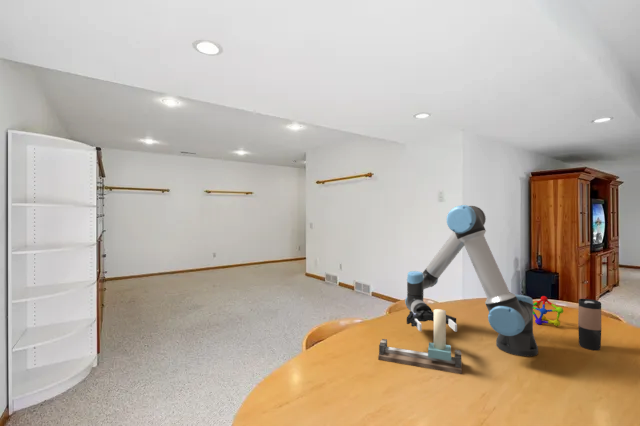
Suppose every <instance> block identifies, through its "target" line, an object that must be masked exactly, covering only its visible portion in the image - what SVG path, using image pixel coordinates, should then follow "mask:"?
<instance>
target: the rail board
mask: <svg viewBox="0 0 640 426" xmlns="http://www.w3.org/2000/svg"><path fill="white" fill-rule="evenodd" d="M461 351H462V350H459V349H454V356H451V361H448V360H442V359H435V358H429V357H428V352H426V351H425V352H424V351H418V350H413V349H406V348H399V347H393V346H388V339H385V338H381V340H380V343H379V345H378V357H377V358H378V360H380V361H385V362H389V363H390V362H391V363H396V364H402V365H408V366H413V367H414V366H415V367H418V368H419V367H420V368H425V369H431V370H437V371H442V372H449V373H454V374H460V375H462V371H463V370H462V355H463V353H462V352H461Z"/></svg>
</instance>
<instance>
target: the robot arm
mask: <svg viewBox="0 0 640 426" xmlns="http://www.w3.org/2000/svg"><path fill="white" fill-rule="evenodd" d="M486 219H487V218H486V214H485V211H483V209H481V208H480V207H478V206H475V205H466V204H461V205H457V206H455V207H452V208H451V209H450V211H449V212H448V213H447V216H446V225H447V227H448V229H449V230H450V231H452V233H451V234H450V236H449V237H448V238H447V240H446V241H445V242H444V244H443V245H442V246H441V248H439V250H438V252H437V253H436V255H434V257H433V258H432V260H431V261H429V262H430V263H429V264H428V265H427V266H426V268H425V269H424V270H423V271H422V272H421V271H417V270H414V271H413V270H412V271H409V272H407V279H406V281H407V282H406V284H407V287H406V288H407V291H406V293H407V294H406V297H405V300H404V303H405V306H406V308H407V309H408V310H409V312H408V314H407V316H406V324H407V325H410V324H411V325H410V326H411V327H415V328H416V329H417V330H418V332H423V331H422V327H423V326H422V323H421V322H428V321H431V322H434V311H433V310H432V308H431V307H430V306H429V305H428V304H427V303H426V302H425V301H424V290H426V289H429V288H432V287H434V286H436V285H437V284H438V281H439V278H440V277H441V275H442V274H443V273H444V272H445V271H446V269H447V268H448V267H449V265H450V264H451V263H452V262H453V260H454V259H455V258H456V257H457V255H458V254H459V253H460V251H462V250H463V248H465V250H466V252H467V254H468V257H469V258H470V262H471V264H472V267H473V268H474V270H475V273H476V275H477V278H478V280H479V283H480V285H481V287H482V289H483V291H484V294H485V296H486V300H485V302H484V303H485V306H486V309H487V311H488V315H487V320H488V323H489V325H490V327H491V328H492V329H493V330H494V331H495V332H496V333H498V334H497V338H496V341H495V342H496V343H495V344H496V345H495V346H496V347H497V348H498V349H499V350H501V351H503V352H505V353H508V354H510V355H515V356H521V357H534V356H537V355H538V354H539V347H538V344H537V341H536V338H535V336H534V315H533V311H534V309H533V307H535V306H534V300H533V298H532V297H530V296H528V295H524V294H517V293H513V292H511V291H510V290H509V288H508V285H507V283H506V282H505V278H504V277H503V274H502V273H501V270H500V268H499V265H498V264H497V261H496V259H495V257H494V255H493V253H492V251H491V248H490V246H489V243H488V242H487V239H486V237H485V234H486V232H487V230H486V228H485V223H486ZM446 325H448V326H449V328H450V329H452V330H453V331H454V332H455V333H456V332H458V324H457V317H454V316H451V315H448V314H446Z"/></svg>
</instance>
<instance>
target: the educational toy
mask: <svg viewBox="0 0 640 426" xmlns="http://www.w3.org/2000/svg"><path fill="white" fill-rule="evenodd" d="M541 303H542V305H541ZM546 303H547V304H548V305H550V306H551V307H553V308H554V309H547V308H546ZM533 304H534V306H533V317H534V318H535V320H534V322H535V324H537V325H538V324H539V325H540V326H541V325H542V324H549V325H550V324H553V325H554V326H555V327H560V326H561V322H560V317H561V314H563V313H564V308H563V307H561V306H557V305H555V304H553V302H551V301H549V299H548V297H547V296H545V295H542V296H541V297H540V299H538V300H537V299H536V300H533ZM540 306H542V307H540ZM534 310H536V311H538V312H539V316H538V315H537V313H536V312H535V311H534ZM551 312H553V313H555V312H557V313H556V318H555V319H554V320H552V319H549V318H547V317H546V316H545V315H546V314H547V313H551ZM539 325H538V326H539Z"/></svg>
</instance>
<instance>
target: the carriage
mask: <svg viewBox="0 0 640 426" xmlns="http://www.w3.org/2000/svg"><path fill="white" fill-rule="evenodd" d="M433 312H434V321H433V342H428V347H427V348H428V349H427V353H428V357H429V358H435V359H442V360H448V361H451V357H452V348H451V345H450V344H447V324H446V315H447V311H446V310H445V309H440V308H436V309H433Z"/></svg>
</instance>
